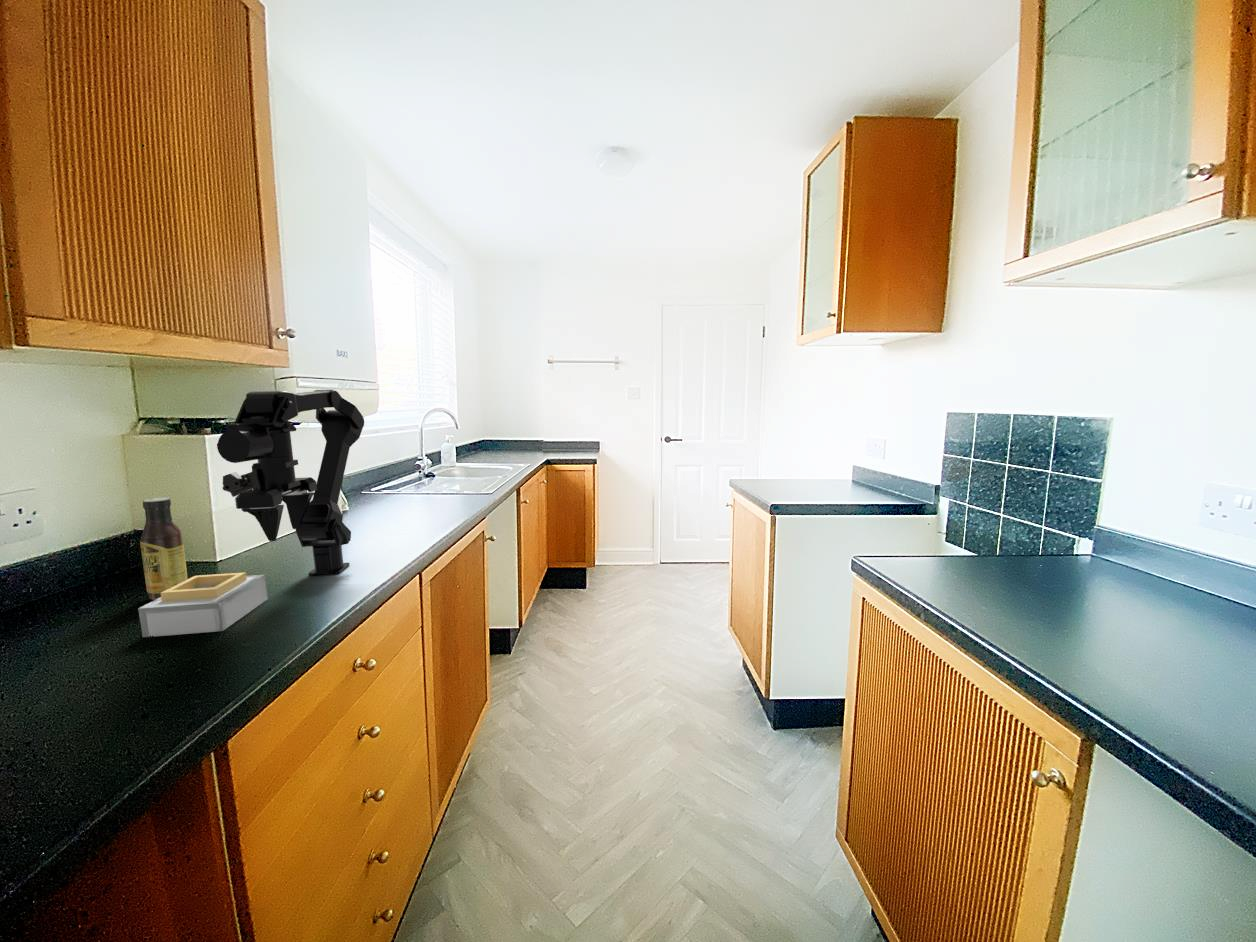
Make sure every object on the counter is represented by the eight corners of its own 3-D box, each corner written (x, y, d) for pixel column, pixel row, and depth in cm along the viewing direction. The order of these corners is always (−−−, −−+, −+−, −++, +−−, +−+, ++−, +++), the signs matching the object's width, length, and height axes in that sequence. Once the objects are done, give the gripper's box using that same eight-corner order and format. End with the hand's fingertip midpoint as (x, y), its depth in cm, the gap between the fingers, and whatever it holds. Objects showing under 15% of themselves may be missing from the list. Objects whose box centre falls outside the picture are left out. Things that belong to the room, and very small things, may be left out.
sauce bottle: (142, 598, 102) (126, 500, 99) (181, 588, 107) (166, 495, 104) (157, 604, 99) (141, 503, 96) (196, 593, 104) (182, 497, 101)
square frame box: (199, 604, 98) (194, 571, 98) (267, 599, 100) (263, 567, 99) (142, 637, 85) (136, 599, 84) (222, 630, 87) (217, 594, 86)
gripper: (256, 453, 108) (265, 525, 110) (196, 464, 89) (209, 550, 92) (314, 451, 109) (321, 522, 111) (266, 461, 91) (277, 546, 93)
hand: (284, 534), depth 102 cm, fingers open, 9 cm apart
